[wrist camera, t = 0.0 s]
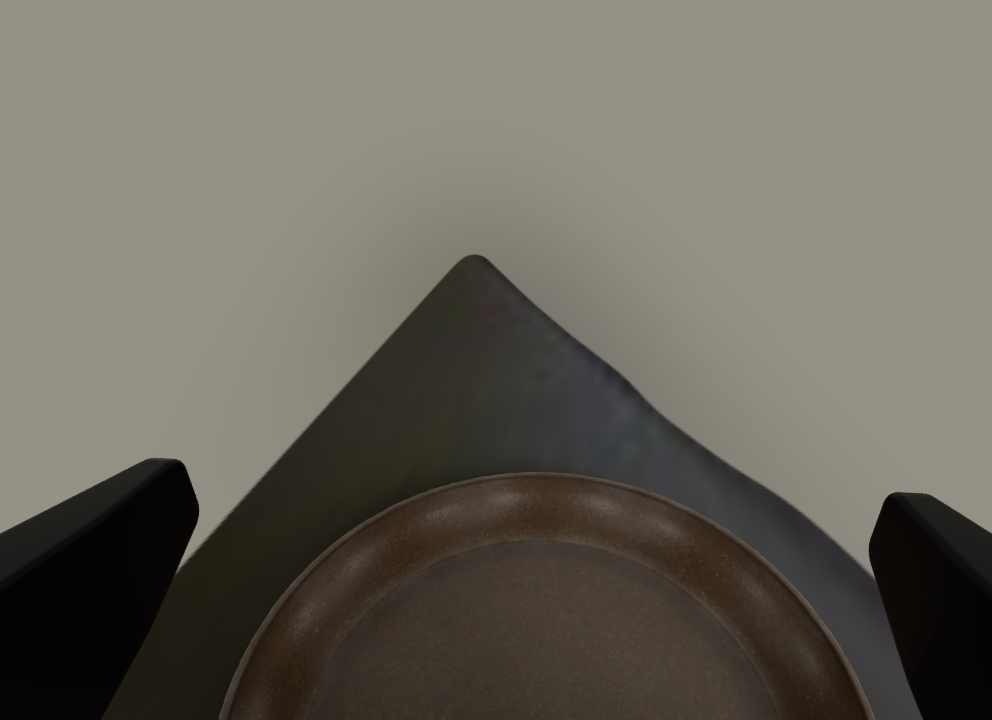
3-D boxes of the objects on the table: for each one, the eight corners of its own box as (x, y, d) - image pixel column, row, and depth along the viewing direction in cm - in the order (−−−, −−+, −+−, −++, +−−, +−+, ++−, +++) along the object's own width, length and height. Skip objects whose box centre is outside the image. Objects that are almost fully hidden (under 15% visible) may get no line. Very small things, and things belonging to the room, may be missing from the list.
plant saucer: (161, 1432, 11) (98, 1428, 10) (258, 570, 29) (242, 517, 27) (1061, 1032, 15) (1124, 981, 14) (666, 488, 33) (673, 438, 31)
